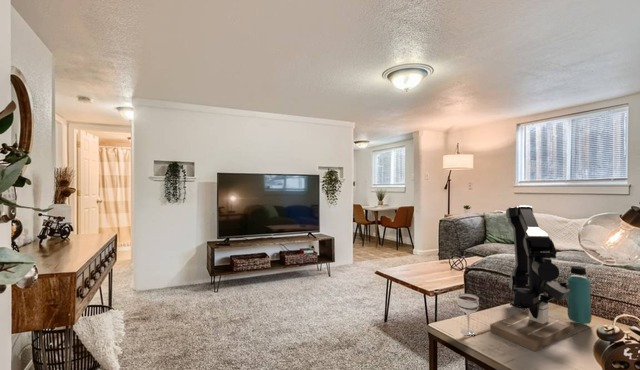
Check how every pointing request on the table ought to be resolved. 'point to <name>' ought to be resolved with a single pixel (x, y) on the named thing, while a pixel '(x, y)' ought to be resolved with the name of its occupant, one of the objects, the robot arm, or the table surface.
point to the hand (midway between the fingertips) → (538, 316)
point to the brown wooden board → (531, 330)
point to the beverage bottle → (579, 297)
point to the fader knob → (541, 314)
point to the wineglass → (468, 309)
